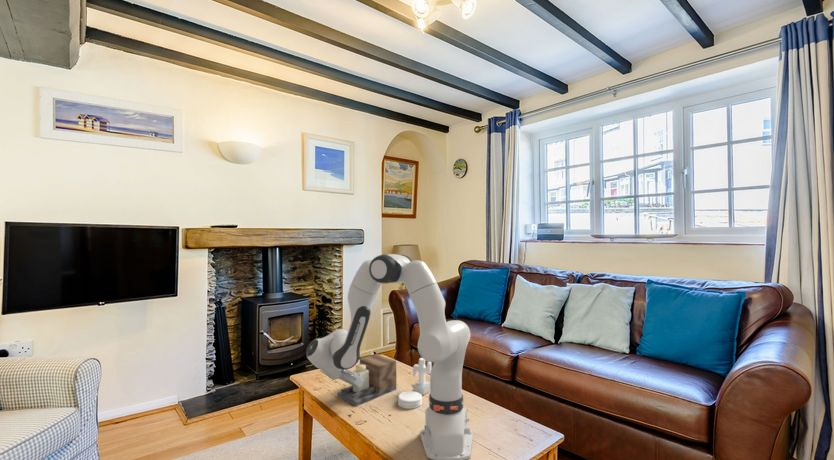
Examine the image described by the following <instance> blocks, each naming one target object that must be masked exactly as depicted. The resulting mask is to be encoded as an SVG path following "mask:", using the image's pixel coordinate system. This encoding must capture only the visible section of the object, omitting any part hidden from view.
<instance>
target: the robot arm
mask: <svg viewBox="0 0 834 460" xmlns="http://www.w3.org/2000/svg"><path fill="white" fill-rule="evenodd" d="M397 283H402V284H403V285H404V286H405V287H406V290H407V293H408V295H409V297H410V299H411V302H412V305H413V306H414V310H415V311H416V316H417V320H418V326H419V337H418V341H417V351H418V353H419V356H420V358H423V359H424V360H425V362H431V363H433V365H432V366H431V372H430V374H429V376H430V377H429V379H430V381H429V382H430V391H429V395H428V405H429V406H428V407H427V408H426V409H425V411H424V413H425V417H424V421H425V422H424V428H423V429H420V431H419V436H420V440H421V444H422V446H423V449H424V453H425V455H426V458H428V459H430V460H468V459H470V458H471V456H472V455H471V454H472V448H473V447H472V446H473V439H474V431H473V430H472V429H471V427H470V426H468V423H469V421H470V419H469V417H468V410H467V409H466V407H464V395H463V392H462V389H463V387H462V385H463V382H462V381H463V379H462V378H463V375H462V374H463V366H464V362H465V355H466V352H467V347H468V344H469V341H470V339H471V329H470V327H469V326H468V324H467V323H465V322H464V321H462V320H458V319H456V320H455V319H453V320H448V321H447V319H446V315H445V312H446V311H445V309H446V299H445V297H444V296H443V293H442V292H441V291H442V290H441V289H440V287H439V285H438V282H437V280H436V278H435V277H434V274H433V273H432V271H431V269H430V267H428V265H427V264H426V262H424V261H422V260H420V259H419V260H417V259H416V260H415V259H414V260H413V259H412V258H411V257H409V256H408V255H405V254H396V253H388V254H386V253H385V254H384V253H383V254H380V255H377V256H375V257H374V258H373V259H367V260H364V261H363V262H362V263H361V265H360V266H359V268H358V269H357V271H356V272H355V275H354V277H353V278H352V280H351V283H350V285H349V288H348V294H347V301H348V306H349V311H350V323H349V328H348V329H345V328H337V329H335V330H333V331H331V332H330V333H329V334H327V335H326V336H324V337H322V338H321V337H320V338H315V339H313V340H311V341H310V342H309V343H308V346H307V348H306V350H305V351H306V352H305V353H306V358H307V359H308V360H309V362H310V363H311V364H312V365H313V366H314V367H315V368H317V369H319V370H320V371H321V372H322V373H323V374H324V375H326V376H327V377H328V378H329V379H330V380H332V381H333V380H335V381H336V380H340V381H342V382H344V383H347V384H349V385H350V386H352V385H353V386H355V387H357V388H361V386H362V385H363V383H364V380H363V379H362V378H361V377H360V376H358V375H357V374H356V373H354V372H353V370H351V369H352V368H353V367H356V365H358V362H360V359H361V358H360V357H361V354H360V353H361V352H360V351H361V345H362V342H363V339H364V337H365V334H366V331H367V327H368V324H369V322H370V317H371V314H372V313H371V312H372V310H373V305H374V302H375V300H376V297H377V295H378V294H379V293H378V292H379V290H380V288H381V285H382V284H397Z"/></svg>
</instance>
